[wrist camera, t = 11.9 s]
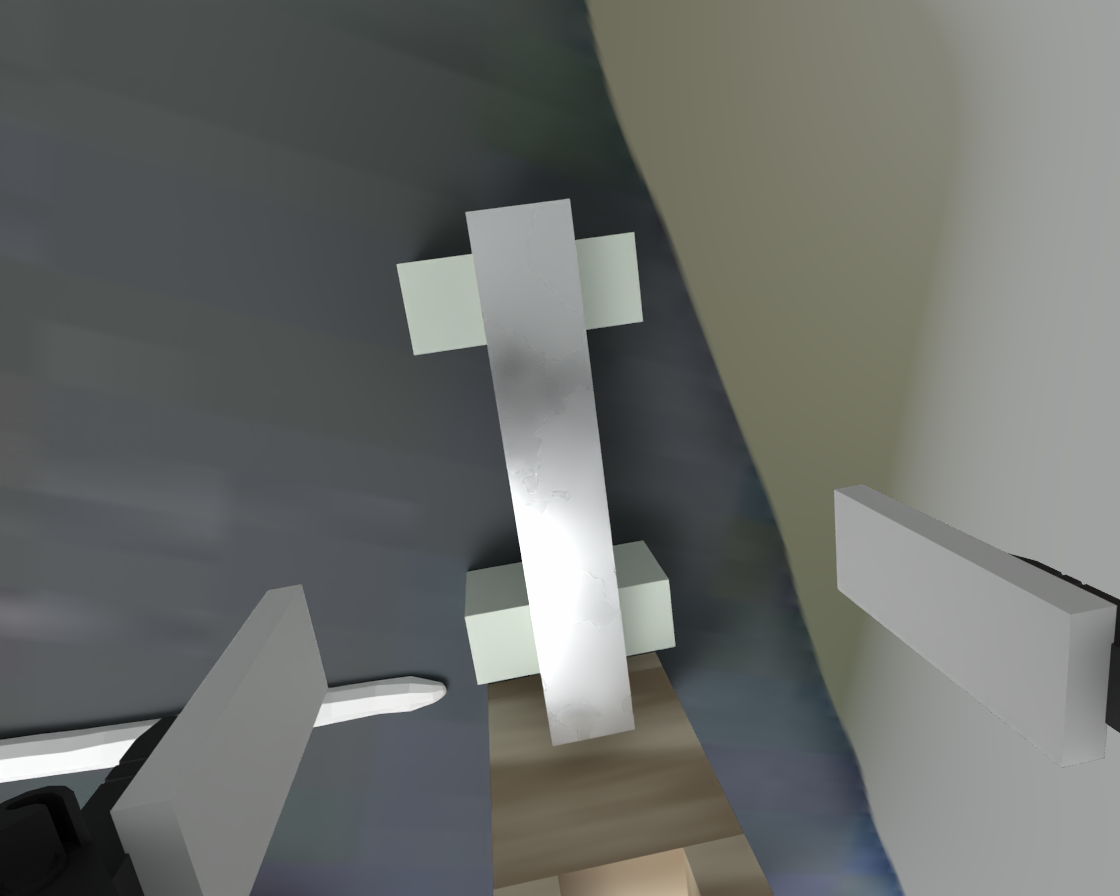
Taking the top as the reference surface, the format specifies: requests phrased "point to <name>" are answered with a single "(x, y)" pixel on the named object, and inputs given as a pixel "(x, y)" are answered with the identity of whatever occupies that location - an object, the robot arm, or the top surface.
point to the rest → (500, 592)
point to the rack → (611, 802)
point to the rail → (554, 461)
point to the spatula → (114, 740)
